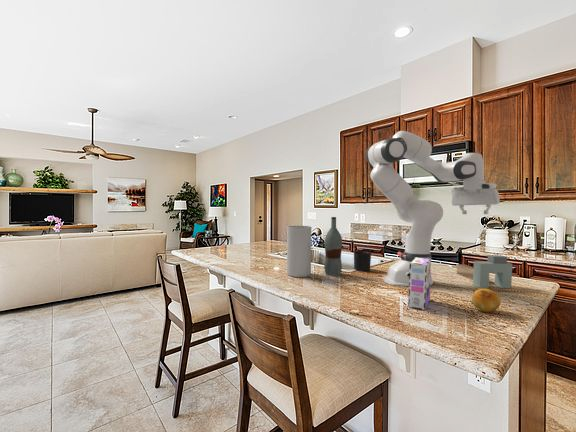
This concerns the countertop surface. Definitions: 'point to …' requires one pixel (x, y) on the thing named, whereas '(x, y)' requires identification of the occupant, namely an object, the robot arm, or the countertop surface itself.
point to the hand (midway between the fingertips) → (475, 214)
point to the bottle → (333, 250)
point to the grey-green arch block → (496, 266)
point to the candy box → (419, 283)
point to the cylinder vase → (299, 251)
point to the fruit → (486, 300)
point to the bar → (465, 271)
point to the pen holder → (362, 260)
